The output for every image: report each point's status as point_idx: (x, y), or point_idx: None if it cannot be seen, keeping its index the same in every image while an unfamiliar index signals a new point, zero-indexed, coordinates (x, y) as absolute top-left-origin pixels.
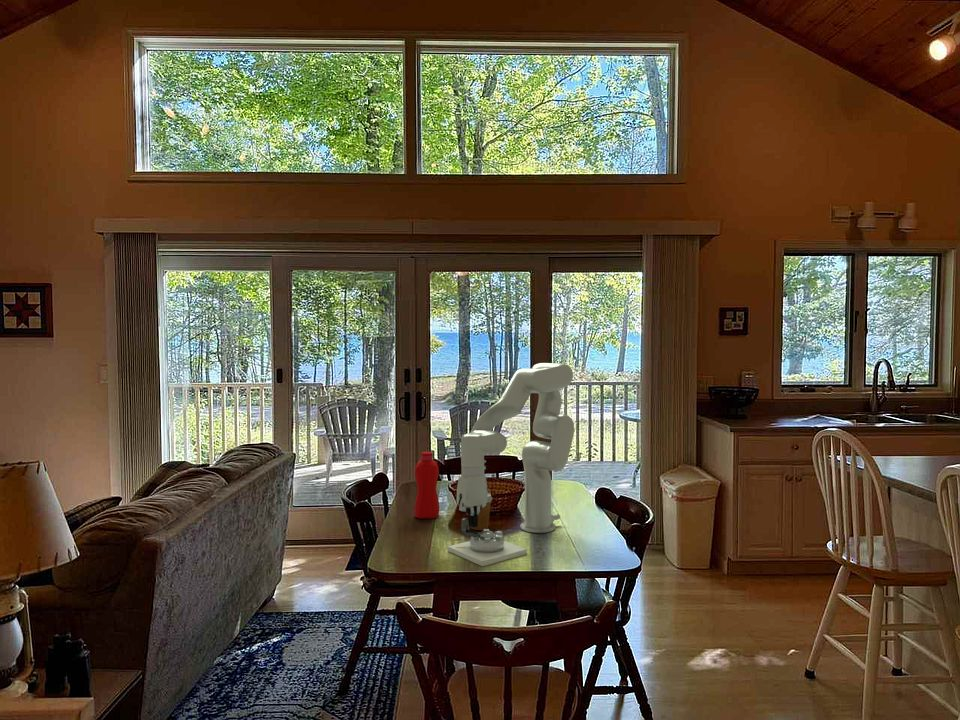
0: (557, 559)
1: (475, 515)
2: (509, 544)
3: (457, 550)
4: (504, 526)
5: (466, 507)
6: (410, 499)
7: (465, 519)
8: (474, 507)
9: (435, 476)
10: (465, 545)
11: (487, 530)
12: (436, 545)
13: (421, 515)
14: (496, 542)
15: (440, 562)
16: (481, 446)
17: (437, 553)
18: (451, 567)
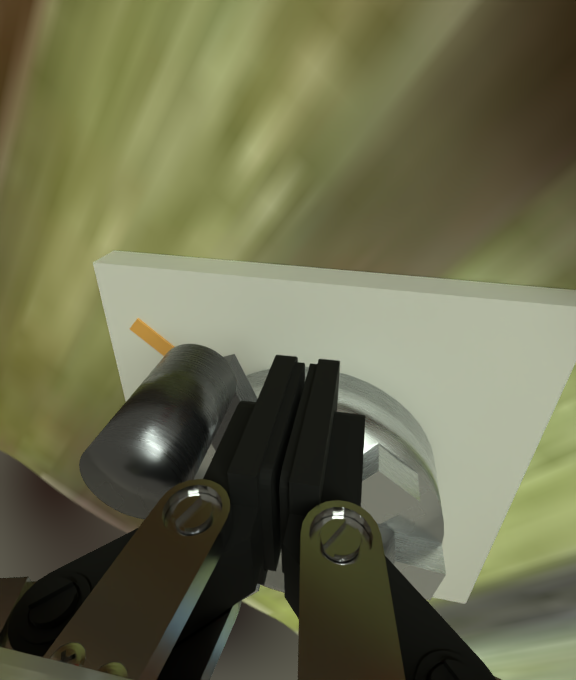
0: (488, 667)
1: (282, 572)
2: (473, 519)
3: (120, 372)
4: None
5: (82, 644)
6: None
7: (124, 495)
8: (349, 650)
9: None
10: (220, 340)
11: (373, 511)
12: (83, 48)
13: None
14: (284, 591)
15: (7, 368)
16: None
17: (31, 239)
18: (39, 444)
